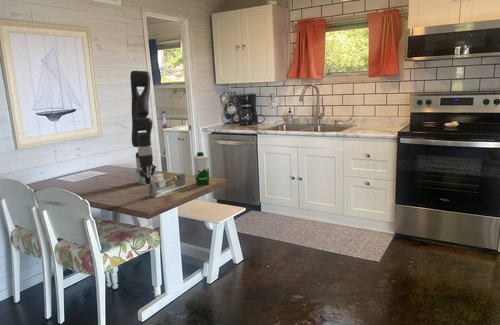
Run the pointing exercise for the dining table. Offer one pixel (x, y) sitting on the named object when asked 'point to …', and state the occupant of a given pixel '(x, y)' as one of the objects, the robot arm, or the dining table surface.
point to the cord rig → (179, 183)
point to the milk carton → (201, 169)
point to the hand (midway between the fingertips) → (148, 183)
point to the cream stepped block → (159, 181)
